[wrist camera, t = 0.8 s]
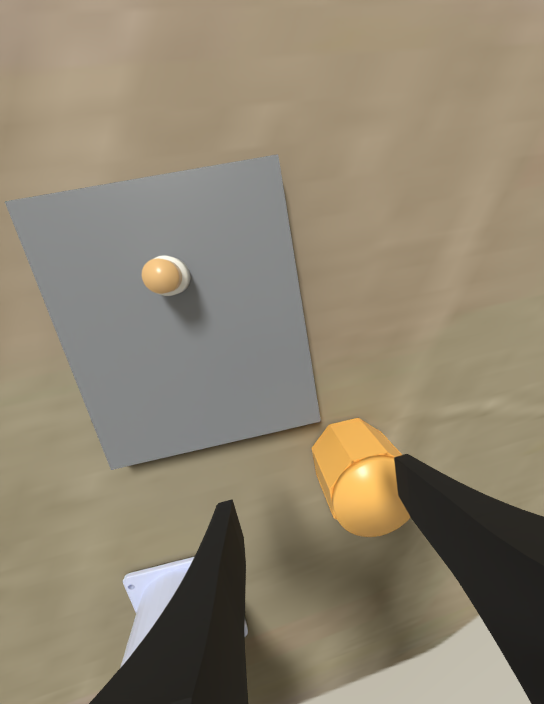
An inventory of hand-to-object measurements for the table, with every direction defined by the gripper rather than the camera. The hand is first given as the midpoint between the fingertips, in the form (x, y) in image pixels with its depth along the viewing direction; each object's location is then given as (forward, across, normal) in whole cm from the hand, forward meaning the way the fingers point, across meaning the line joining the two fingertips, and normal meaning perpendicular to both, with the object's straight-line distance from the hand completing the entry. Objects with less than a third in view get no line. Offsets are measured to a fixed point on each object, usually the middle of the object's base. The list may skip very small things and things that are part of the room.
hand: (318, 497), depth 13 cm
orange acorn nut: (+9, -4, +5) cm, 11 cm away
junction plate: (+9, +5, -7) cm, 12 cm away
